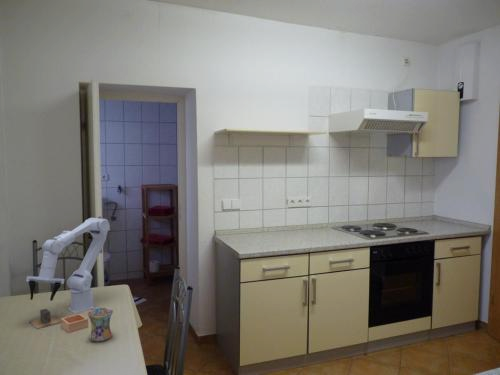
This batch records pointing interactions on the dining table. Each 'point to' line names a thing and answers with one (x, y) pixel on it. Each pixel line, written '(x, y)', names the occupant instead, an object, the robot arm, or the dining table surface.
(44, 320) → the lid
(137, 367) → the dining table surface
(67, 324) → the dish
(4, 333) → the dining table surface
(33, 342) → the dining table surface
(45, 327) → the mat
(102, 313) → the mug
